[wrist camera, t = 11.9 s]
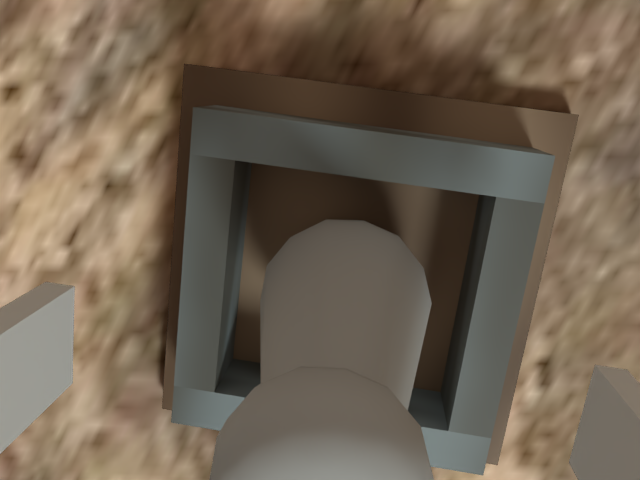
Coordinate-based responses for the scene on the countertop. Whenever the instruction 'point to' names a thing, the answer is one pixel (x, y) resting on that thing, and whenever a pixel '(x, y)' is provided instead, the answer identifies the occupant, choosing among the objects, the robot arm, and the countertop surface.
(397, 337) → the salt shaker
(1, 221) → the countertop surface
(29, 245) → the countertop surface
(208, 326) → the collar socket
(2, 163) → the countertop surface
